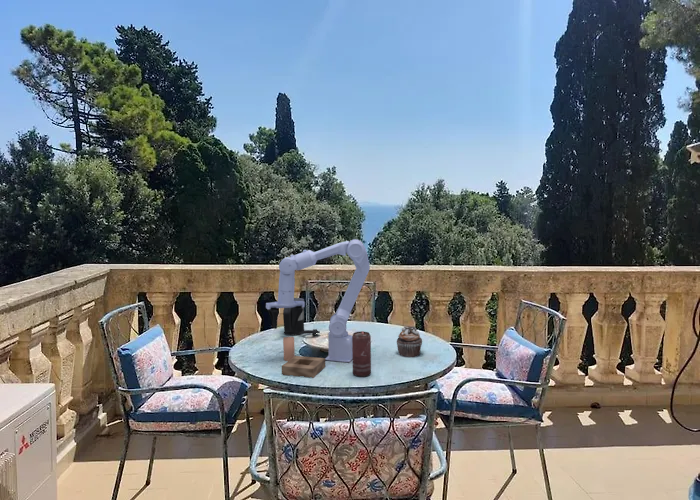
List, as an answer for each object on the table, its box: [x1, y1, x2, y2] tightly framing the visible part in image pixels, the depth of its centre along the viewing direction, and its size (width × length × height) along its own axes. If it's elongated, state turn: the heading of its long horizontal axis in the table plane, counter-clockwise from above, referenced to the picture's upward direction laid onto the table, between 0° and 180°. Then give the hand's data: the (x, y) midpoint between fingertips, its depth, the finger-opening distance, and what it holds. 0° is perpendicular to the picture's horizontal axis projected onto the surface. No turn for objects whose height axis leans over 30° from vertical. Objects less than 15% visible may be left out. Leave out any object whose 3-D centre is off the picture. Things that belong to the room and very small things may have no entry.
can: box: [352, 330, 372, 378], centre depth 174 cm, size 6×6×14 cm
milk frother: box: [282, 297, 321, 336], centre depth 224 cm, size 14×16×15 cm
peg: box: [282, 336, 296, 362], centre depth 191 cm, size 4×4×8 cm
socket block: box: [281, 355, 326, 379], centre depth 178 cm, size 11×11×3 cm
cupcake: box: [396, 326, 423, 358], centre depth 195 cm, size 10×10×10 cm
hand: (284, 327), depth 190 cm, fingers open, 7 cm apart
